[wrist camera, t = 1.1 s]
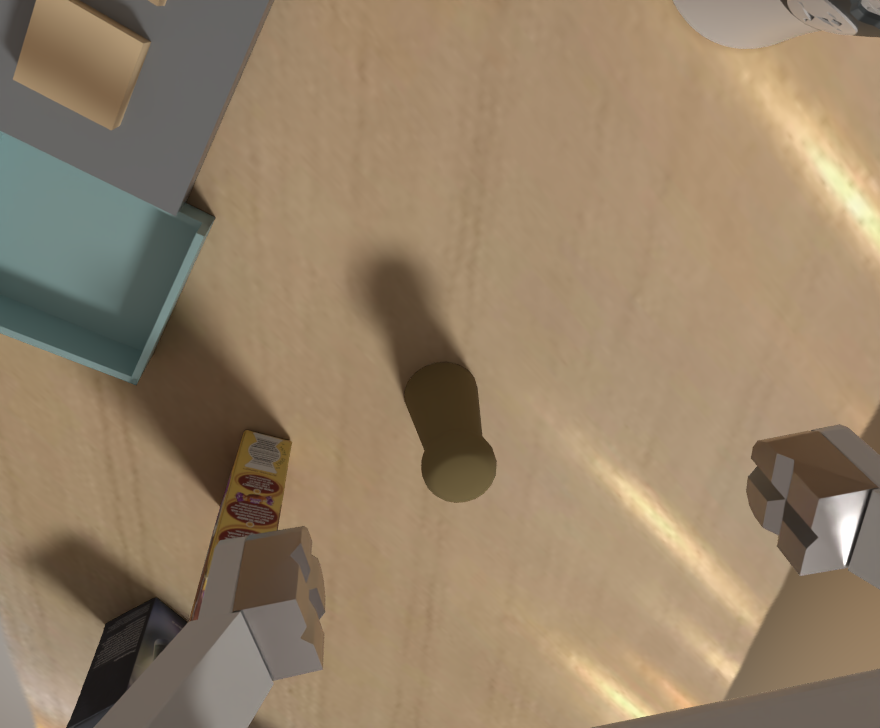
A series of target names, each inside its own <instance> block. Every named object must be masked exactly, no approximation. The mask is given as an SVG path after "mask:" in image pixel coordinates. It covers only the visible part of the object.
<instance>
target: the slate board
mask: <svg viewBox="0 0 880 728" xmlns="http://www.w3.org/2000/svg"><path fill="white" fill-rule="evenodd" d="M80 1H82V2H83V3H85V4H87V5H89V6H90V7H92V8H94V9H96V10H97V11H99V12H101V13H102V14H104V15H106V16H108V17H109V18H111V19H113V20H115V21H116V22H118V23H120V24H121V25H123V26H125V27H127V28H128V29H130V30H132V31H134V32H135V33H137V34H139V35H140V36H142V37H144V38H146V39H147V40H149V41H151V44H150V47H149V50H148V52H147V55H146V58H145V60H144V63H143V66H142V68H141V71H140V74H139V76H138V79H137V82H136V84H135V87H134V90H133V92H132V95H131V98H130V100H129V103H128V106H127V109H126V111H125V114H124V117H123V119H122V122H121V125H120V126H119V127H117V128H115V129H113V130H109V129H107V128H105V127H104V126H102V125H100V124H98V123H96V122H94V121H92V120H90V119H88V118H86V117H84V116H82V115H80V114H78V113H76V112H75V111H73V110H71V109H69V108H67V107H65V106H63V105H61V104H59V103H57V102H55V101H53V100H51V99H49V98H47V97H46V96H44V95H42V94H40V93H38V92H36V91H34V90H32V89H30V88H28V87H26V86H24V85H22V84H20V83H19V82H17V81H15V80H13V77H14V73H15V70H16V67H17V63H18V60H19V56H20V53H21V50H22V46H23V43H24V40H25V36H26V33H27V29H28V26H29V23H30V19H31V16H32V13H33V9H34V6H35V2H36V0H0V131H2V132H4V133H6V134H8V135H10V136H12V137H14V138H16V139H18V140H20V141H22V142H24V143H27V144H29V145H31V146H33V147H35V148H37V149H39V150H41V151H43V152H45V153H47V154H49V155H51V156H53V157H55V158H57V159H59V160H61V161H63V162H65V163H68V164H70V165H72V166H74V167H76V168H78V169H80V170H82V171H84V172H86V173H88V174H90V175H92V176H94V177H96V178H98V179H100V180H102V181H104V182H106V183H109V184H111V185H113V186H115V187H117V188H119V189H121V190H123V191H125V192H127V193H129V194H131V195H133V196H135V197H137V198H139V199H141V200H143V201H145V202H148V203H150V204H152V205H154V206H156V207H158V208H160V209H162V210H164V211H166V212H168V213H170V214H172V215H174V216H176V215H177V214H178V213H179V211H180V210H181V209H182V207H183V206H184V205H185V203H186V202H187V199H188V197H189V195H190V192H191V190H192V188H193V186H194V183H195V181H196V179H197V176H198V174H199V172H200V169H201V167H202V165H203V163H204V160H205V158H206V156H207V153H208V151H209V149H210V147H211V144H212V142H213V140H214V137H215V135H216V133H217V130H218V128H219V126H220V124H221V121H222V119H223V117H224V114H225V112H226V110H227V107H228V105H229V103H230V101H231V98H232V96H233V94H234V91H235V89H236V87H237V85H238V82H239V80H240V78H241V75H242V73H243V71H244V68H245V66H246V64H247V62H248V59H249V57H250V55H251V52H252V50H253V48H254V45H255V43H256V41H257V39H258V36H259V34H260V32H261V29H262V27H263V25H264V23H265V20H266V18H267V16H268V13H269V11H270V9H271V6H272V4H273V2H274V0H167V1H166V4H165V6H156V5H155V4H153V3H151V2H150V1H148V0H80Z"/></svg>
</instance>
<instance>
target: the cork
mask: <svg viewBox="0 0 880 728" xmlns="http://www.w3.org/2000/svg"><path fill="white" fill-rule="evenodd" d="M405 403H406V406H407V408H408V411H409V413H410V416H411V418H412V421H413V423H414V426H415V428H416V431H417V433H418V435H419V438H420V440H421V443H422V445H423V448H424V450H425V451H424V454H423V457H422V464H421V470H422V476H423V479H424V481H425V483H426V485H427V487H428V489H429V490H430V491H431V492H432V493H433V494H434V495H436V496H437V497H439V498H441V499H443V500H445V501H449V502H454V503H459V502H467V501H470V500H473V499H476V498H477V497H479V496H481V495H482V494H484V493H485V491H486V490H487V489H488V488H489V487H490V486H491V484H492V482H493V480H494V478H495V476H496V462H497V461H496V458H495V455H494V452H493V449H492V447H491V446H490V445H489V443H488V442H487V441H486V440H485V439H484V438H483V436H482V428H481V418H480V408H479V398H478V388H477V385H476V382H475V379H474V377H473V376H472V375H471V373H470V372H469V371H468V370H467V369H465V368H463V367H462V366H460V365H457V364H453V363H449V362H442V363H434V364H431V365H428V366H425V367H423V368H422V369H420V370H419V371H417V372H416V373H415V374H414V375H413V376H412V377H411V379H410V380H409V381H408V383H407V386H406V389H405Z"/></svg>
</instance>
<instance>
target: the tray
mask: <svg viewBox="0 0 880 728" xmlns="http://www.w3.org/2000/svg"><path fill="white" fill-rule="evenodd" d="M214 220H215V217H213V216H211V215H209V214H207V213H205V212H203V211H201V210H199V209H197V208H195V207H193V206H191V205H189V204H187V203H185V205H184V206H183V207H182V209H181V210H180V211H179V213H178V214H177V215H176V216H174V215H172V214H170V213H168V212H166V211H164V210H162V209H160V208H158V207H156V206H154V205H152V204H150V203H148V202H145V201H143V200H141V199H139V198H137V197H135V196H133V195H131V194H129V193H127V192H125V191H123V190H121V189H119V188H117V187H115V186H113V185H111V184H109V183H106V182H104V181H102V180H100V179H98V178H96V177H94V176H92V175H90V174H88V173H86V172H84V171H82V170H80V169H78V168H76V167H74V166H72V165H70V164H68V163H65V162H63V161H61V160H59V159H57V158H55V157H53V156H51V155H49V154H47V153H45V152H43V151H41V150H39V149H37V148H35V147H33V146H31V145H29V144H27V143H24V142H22V141H20V140H18V139H16V138H14V137H12V136H10V135H8V134H6V133H4V132H2V131H0V333H1V334H4V335H6V336H9V337H12V338H14V339H17V340H20V341H22V342H25V343H27V344H30V345H33V346H35V347H38V348H40V349H43V350H46V351H48V352H51V353H53V354H56V355H59V356H61V357H64V358H67V359H69V360H72V361H74V362H77V363H80V364H82V365H85V366H87V367H90V368H93V369H95V370H98V371H100V372H103V373H106V374H108V375H111V376H114V377H116V378H119V379H121V380H124V381H127V382H129V383H132V384H134V385H137V383H138V381H139V379H140V377H141V376H142V374H143V372H144V370H145V368H146V366H147V364H148V362H149V361H150V359H151V357H152V355H153V352H154V350H155V348H156V346H157V344H158V342H159V339H160V337H161V335H162V333H163V331H164V329H165V326H166V324H167V322H168V320H169V318H170V315H171V313H172V311H173V309H174V307H175V305H176V302H177V300H178V298H179V296H180V294H181V292H182V289H183V287H184V285H185V283H186V281H187V278H188V276H189V274H190V272H191V270H192V268H193V265H194V263H195V261H196V259H197V257H198V255H199V252H200V250H201V248H202V246H203V244H204V241H205V239H206V237H207V235H208V233H209V231H210V228H211V226H212V224H213V222H214Z"/></svg>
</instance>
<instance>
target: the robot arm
mask: <svg viewBox="0 0 880 728" xmlns="http://www.w3.org/2000/svg"><path fill="white" fill-rule="evenodd" d="M673 2H674V4H675V6H676V8H677V9H678V11H679V12H680V14H681V15H682V16H683V18H684V19H685V20H686V21H687V23H688V24H689V25H690V26H691V27H692V28H693V29H695V30H696V31H697V32H698V33H700V34H701V35H702V36H704V37H705V38H707V39H709V40H711V41H713V42H715V43H718V44H720V45H723V46H727V47H732V48H739V49H754V48H762V47H767V46H771V45H774V44H778V43H780V42H783V41H786V40H789V39H791V38H794V37H797V36H801V35H804V34H808V33H812V32H817V31H826V32H830V33H834V34H840V35H854V36H866V37H880V0H673ZM751 459H752V460H753V461H754V462H755V464H756V465H757V467H756V468H755V469H754V471H753V472H752V473H751V474H750V475H749V476H748V480H747V489H746V492H747V497H748V502H749V506H750V508H751V510H752V512H753V514H754V516H755V518H756V519H757V520H758V522H759V523H760V525H761V526H762V527H763V528H765V529H767V530H769V531H771V532H773V533H775V534H777V535H778V543H777V547H778V548H779V550H780V551H781V552H782V553H783V555H784V556H785V557H786V559H787V560H788V561H789V562H790V564H791V565H792V566H793V568H794V569H795V570H796V571H797V572H798V574H799V575H800V576H801V575H807V574H813V573H819V572H825V571H831V570H837V569H843V568H848V571H850V572H852V573H853V574H855V575H857V576H858V577H860V578H862V579H863V580H865V581H867V582H868V583H870V584H872V585H873V586H875V587H876V588H878V589H880V455H879V454H878V453H877V452H875V451H874V450H873V449H872V448H871V447H870V446H869V445H867V444H866V443H865V442H864V441H863V440H862V439H861V438H859V437H858V436H857V435H856V434H855V433H854V432H853V431H852V430H850V429H849V428H848V427H846V426H843V425H840V424H839V425H834V426H829V427H824V428H819V429H814V430H811V431H805V432H800V433H794V434H789V435H784V436H779V437H774V438H769V439H764V440H759V441H757V442H756V444H755V445H754V447H753V450H752V455H751ZM311 553H312V539H311V537H310V534H309V531H308V529H307V527H305V526H301V527H295V528H289V529H283V530H277V531H271V532H265V533H258V534H252V535H248V536H245V537H238V538H232V539H225V540H220V541H219V542H218V544H217V545H216V547H215V549H214V553H213V557H212V562H211V566H210V570H209V574H208V578H207V583H206V587H205V591H204V595H203V600H202V604H201V608H200V612H199V617H198V620H193V621H189V622H188V623H187V624H186V625H185V626H184V628H183V629H182V630H181V631H180V632H179V633H178V634H177V635H176V637H175V638H174V639H173V640H172V641H171V642H170V643H169V644H168V645H167V647H166V648H165V649H164V650H163V651H162V652H161V653H160V654H159V655H158V657H157V658H156V659H155V660H154V661H153V662H152V663H151V664H150V665H149V667H148V668H147V669H146V670H145V671H144V672H143V673H142V674H141V675H140V677H139V678H138V679H137V680H136V681H135V682H134V683H133V684H132V686H131V687H130V688H129V689H128V690H127V691H126V692H125V693H124V694H123V696H122V697H121V698H120V699H119V700H118V701H117V702H116V703H115V704H114V706H113V707H112V708H111V709H110V710H109V711H108V712H107V713H106V714H105V716H104V717H103V718H102V719H101V720H100V721H99V722H98V723H97V724H96V726H95V727H94V728H248V726H249V725H250V723H251V721H252V719H253V718H254V716H255V714H256V713H257V711H258V709H259V708H260V706H261V704H262V703H263V701H264V699H265V698H266V696H267V694H268V692H269V691H270V689H271V687H272V686H273V681H274V680H278V679H283V678H287V677H292V676H296V675H301V674H305V673H309V672H314V671H318V670H323V657H324V632H323V629H322V626H321V623H320V618H321V617H322V616H323V614H324V613H325V588H324V579H323V574H322V569H321V566H320V563H319V560H318V558H317V557H315V556H313V555H312V554H311ZM592 728H880V669H876V670H871V671H866V672H861V673H856V674H851V675H847V676H842V677H837V678H832V679H827V680H822V681H818V682H813V683H807V684H803V685H798V686H793V687H788V688H784V689H778V690H773V691H768V692H764V693H759V694H754V695H749V696H744V697H739V698H734V699H729V700H724V701H719V702H715V703H710V704H705V705H700V706H695V707H690V708H685V709H680V710H676V711H671V712H666V713H661V714H656V715H651V716H646V717H641V718H636V719H631V720H626V721H621V722H616V723H612V724H607V725H602V726H597V727H592Z"/></svg>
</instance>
